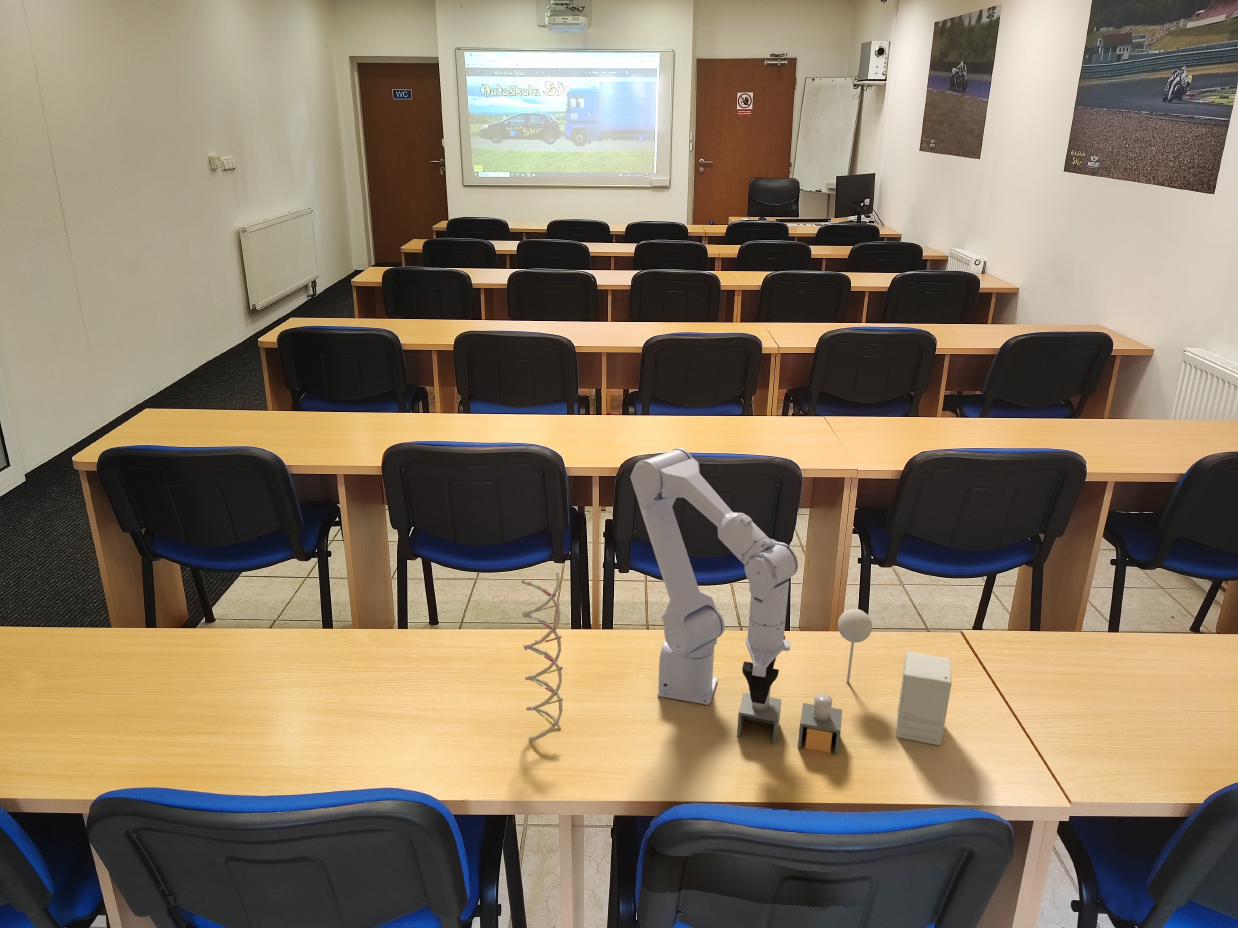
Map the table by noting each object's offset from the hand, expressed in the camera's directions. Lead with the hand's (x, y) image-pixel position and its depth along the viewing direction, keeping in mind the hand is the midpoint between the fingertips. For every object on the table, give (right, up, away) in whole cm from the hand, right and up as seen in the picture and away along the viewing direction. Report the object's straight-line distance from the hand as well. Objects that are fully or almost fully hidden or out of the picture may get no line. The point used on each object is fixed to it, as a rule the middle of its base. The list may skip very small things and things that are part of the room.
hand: (761, 687), depth 146 cm
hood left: (0, -8, +3) cm, 9 cm away
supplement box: (+27, -8, +4) cm, 29 cm away
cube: (+10, -9, 0) cm, 13 cm away
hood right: (+10, -9, +1) cm, 13 cm away
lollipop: (+18, -3, +16) cm, 24 cm away
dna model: (-36, -8, +2) cm, 37 cm away
